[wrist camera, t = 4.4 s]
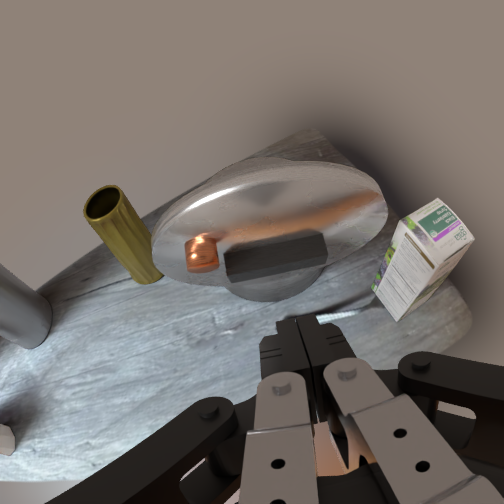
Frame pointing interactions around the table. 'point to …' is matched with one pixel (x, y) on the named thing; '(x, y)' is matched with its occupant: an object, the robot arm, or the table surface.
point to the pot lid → (268, 224)
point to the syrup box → (420, 257)
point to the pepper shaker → (6, 440)
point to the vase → (122, 232)
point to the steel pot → (274, 288)
